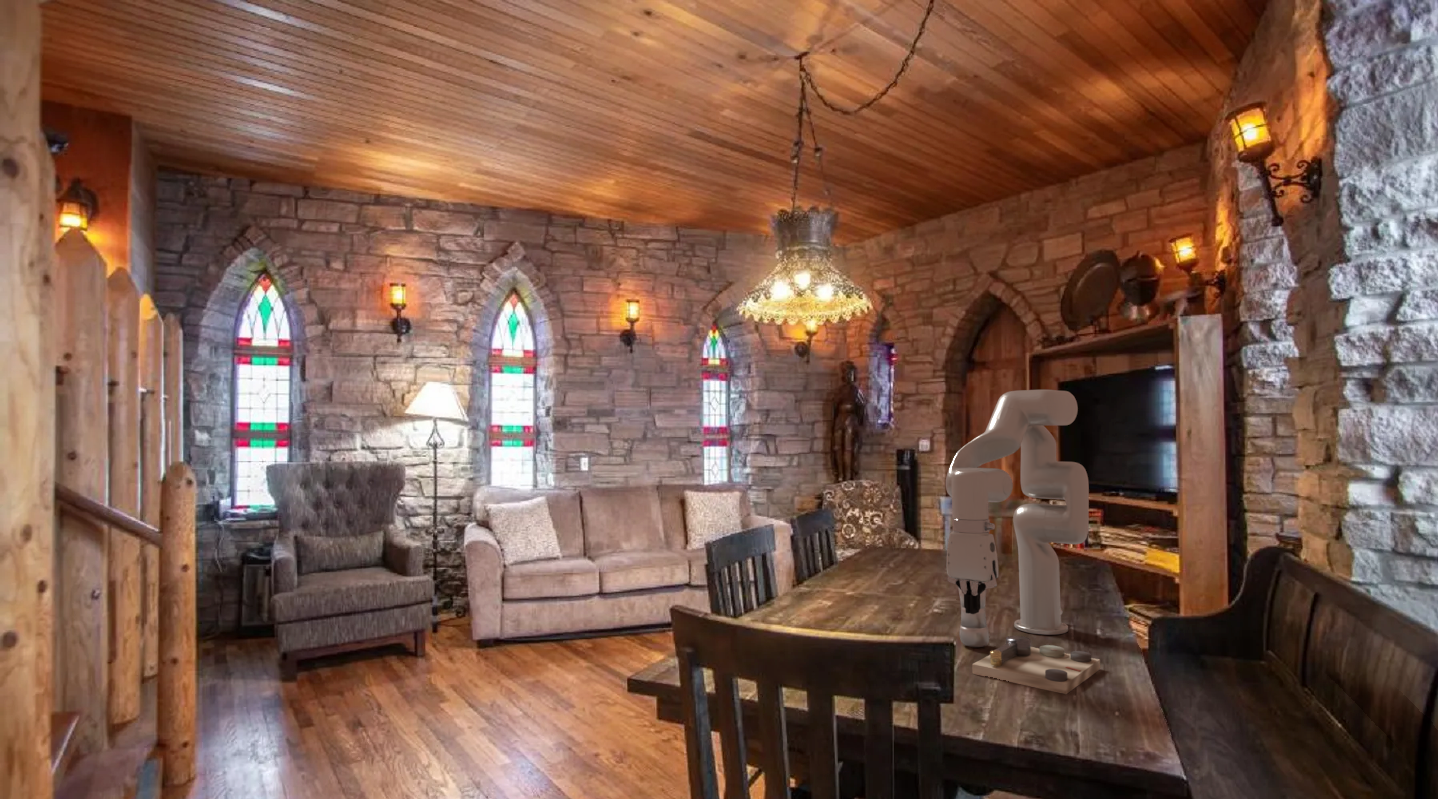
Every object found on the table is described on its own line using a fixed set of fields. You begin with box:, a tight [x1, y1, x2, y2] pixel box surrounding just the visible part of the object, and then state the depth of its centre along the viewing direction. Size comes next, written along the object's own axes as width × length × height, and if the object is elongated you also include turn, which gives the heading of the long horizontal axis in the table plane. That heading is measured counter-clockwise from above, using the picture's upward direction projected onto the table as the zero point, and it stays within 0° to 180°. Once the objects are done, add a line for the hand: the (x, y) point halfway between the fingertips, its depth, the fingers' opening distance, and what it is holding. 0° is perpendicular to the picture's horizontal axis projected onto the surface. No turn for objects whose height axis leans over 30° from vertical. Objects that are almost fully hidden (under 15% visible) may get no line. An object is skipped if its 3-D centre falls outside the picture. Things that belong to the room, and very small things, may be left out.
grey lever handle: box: [989, 635, 1032, 666], centre depth 163 cm, size 15×5×3 cm, turn 136°
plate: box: [971, 644, 1101, 695], centre depth 161 cm, size 20×19×3 cm
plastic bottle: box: [957, 581, 990, 648], centre depth 181 cm, size 6×7×20 cm
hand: (972, 612), depth 165 cm, fingers closed
